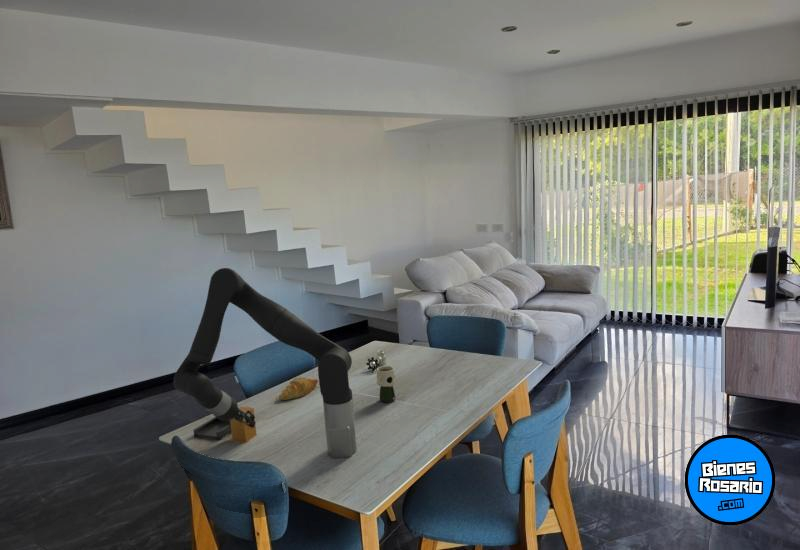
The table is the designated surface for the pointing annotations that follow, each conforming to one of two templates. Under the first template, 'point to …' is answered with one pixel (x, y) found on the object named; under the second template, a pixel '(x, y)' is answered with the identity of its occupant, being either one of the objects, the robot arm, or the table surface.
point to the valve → (377, 360)
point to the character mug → (386, 382)
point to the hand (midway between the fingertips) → (246, 424)
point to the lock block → (242, 428)
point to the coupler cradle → (213, 429)
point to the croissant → (298, 388)
